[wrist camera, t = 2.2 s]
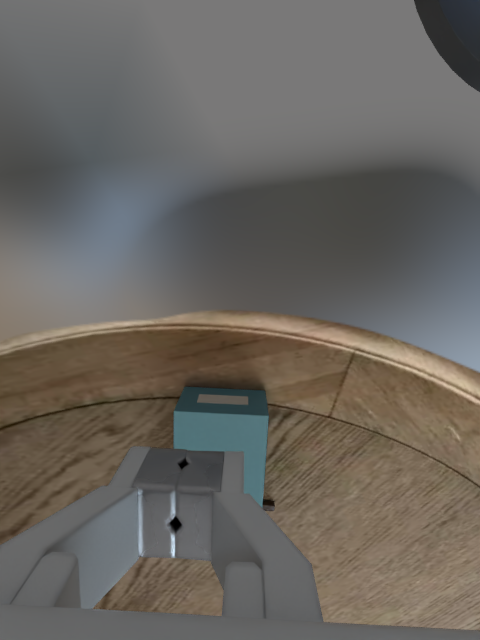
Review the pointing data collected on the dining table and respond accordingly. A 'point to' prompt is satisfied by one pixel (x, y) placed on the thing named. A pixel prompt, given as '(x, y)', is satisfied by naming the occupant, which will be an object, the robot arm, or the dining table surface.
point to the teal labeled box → (226, 428)
